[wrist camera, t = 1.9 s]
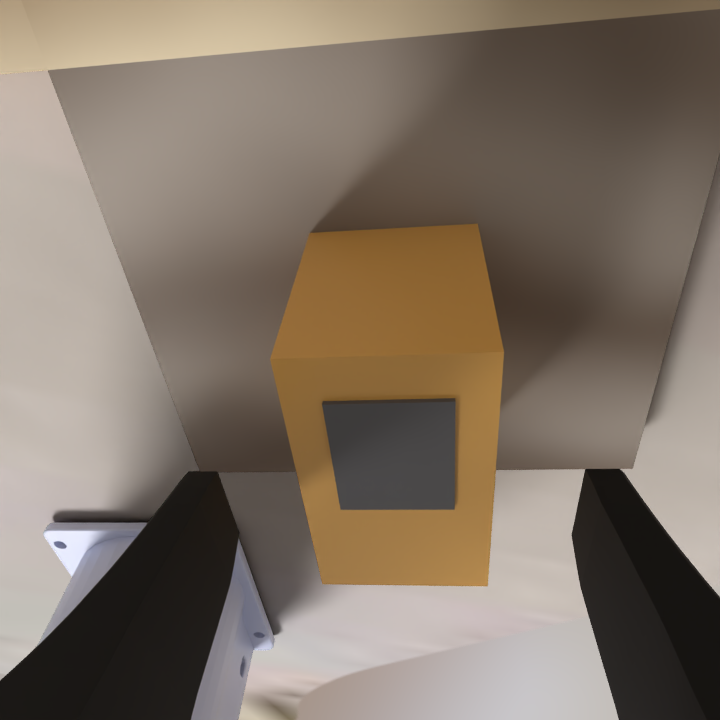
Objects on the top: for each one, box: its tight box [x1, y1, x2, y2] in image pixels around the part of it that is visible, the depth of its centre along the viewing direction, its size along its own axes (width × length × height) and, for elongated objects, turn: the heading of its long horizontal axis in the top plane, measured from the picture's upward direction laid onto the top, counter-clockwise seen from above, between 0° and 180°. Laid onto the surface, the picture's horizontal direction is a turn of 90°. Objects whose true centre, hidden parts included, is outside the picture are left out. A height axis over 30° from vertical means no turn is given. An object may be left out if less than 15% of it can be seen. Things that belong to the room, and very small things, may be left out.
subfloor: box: [0, 0, 720, 472], centre depth 14 cm, size 20×19×1 cm
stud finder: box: [270, 224, 504, 586], centre depth 14 cm, size 7×4×5 cm, turn 5°
